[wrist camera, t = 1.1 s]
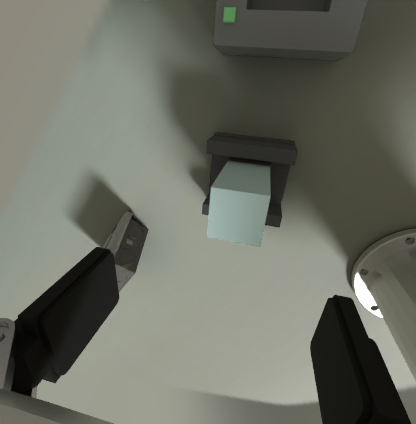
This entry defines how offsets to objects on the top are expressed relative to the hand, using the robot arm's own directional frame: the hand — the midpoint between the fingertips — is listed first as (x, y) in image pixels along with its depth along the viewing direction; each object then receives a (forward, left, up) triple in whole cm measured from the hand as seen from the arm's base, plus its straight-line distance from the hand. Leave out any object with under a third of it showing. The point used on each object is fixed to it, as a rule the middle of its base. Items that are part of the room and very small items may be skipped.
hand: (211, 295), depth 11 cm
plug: (0, 0, -18) cm, 18 cm away
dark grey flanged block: (0, 0, -19) cm, 19 cm away
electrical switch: (+15, +12, -19) cm, 27 cm away
